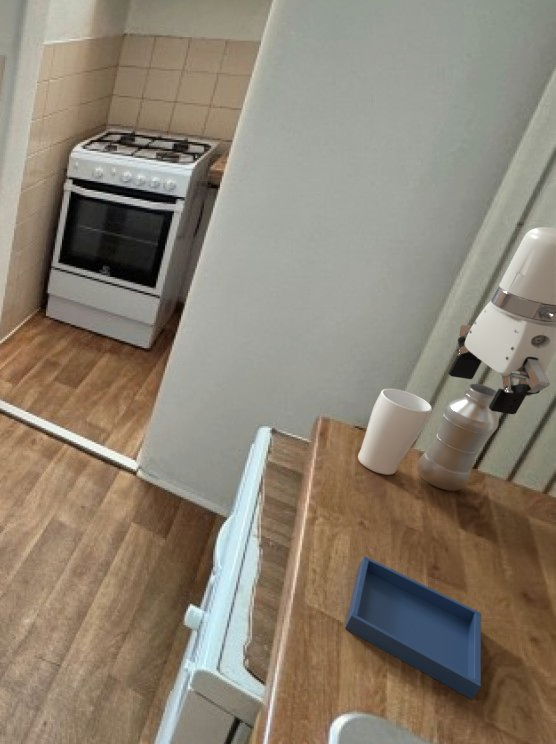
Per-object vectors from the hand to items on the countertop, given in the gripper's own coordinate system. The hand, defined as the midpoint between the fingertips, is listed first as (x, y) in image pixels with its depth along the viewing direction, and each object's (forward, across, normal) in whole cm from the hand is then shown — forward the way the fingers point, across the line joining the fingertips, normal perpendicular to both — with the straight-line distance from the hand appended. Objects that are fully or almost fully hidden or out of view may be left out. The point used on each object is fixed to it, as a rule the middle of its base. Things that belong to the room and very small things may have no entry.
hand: (479, 393), depth 101 cm
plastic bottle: (+19, 0, 0) cm, 19 cm away
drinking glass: (+19, +1, +8) cm, 21 cm away
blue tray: (+19, -35, +21) cm, 45 cm away
